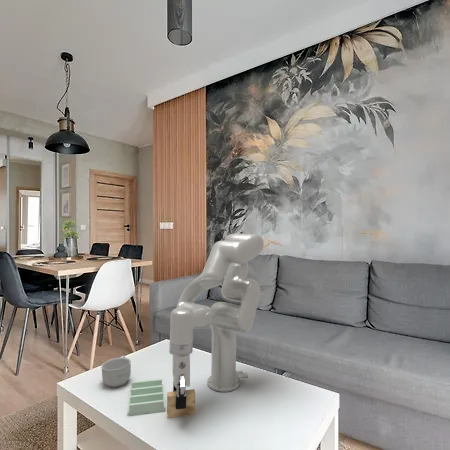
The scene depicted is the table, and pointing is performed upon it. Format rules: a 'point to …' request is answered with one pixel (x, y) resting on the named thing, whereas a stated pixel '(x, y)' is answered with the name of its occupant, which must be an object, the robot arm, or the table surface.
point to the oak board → (181, 412)
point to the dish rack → (146, 397)
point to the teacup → (116, 371)
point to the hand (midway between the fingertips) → (179, 400)
